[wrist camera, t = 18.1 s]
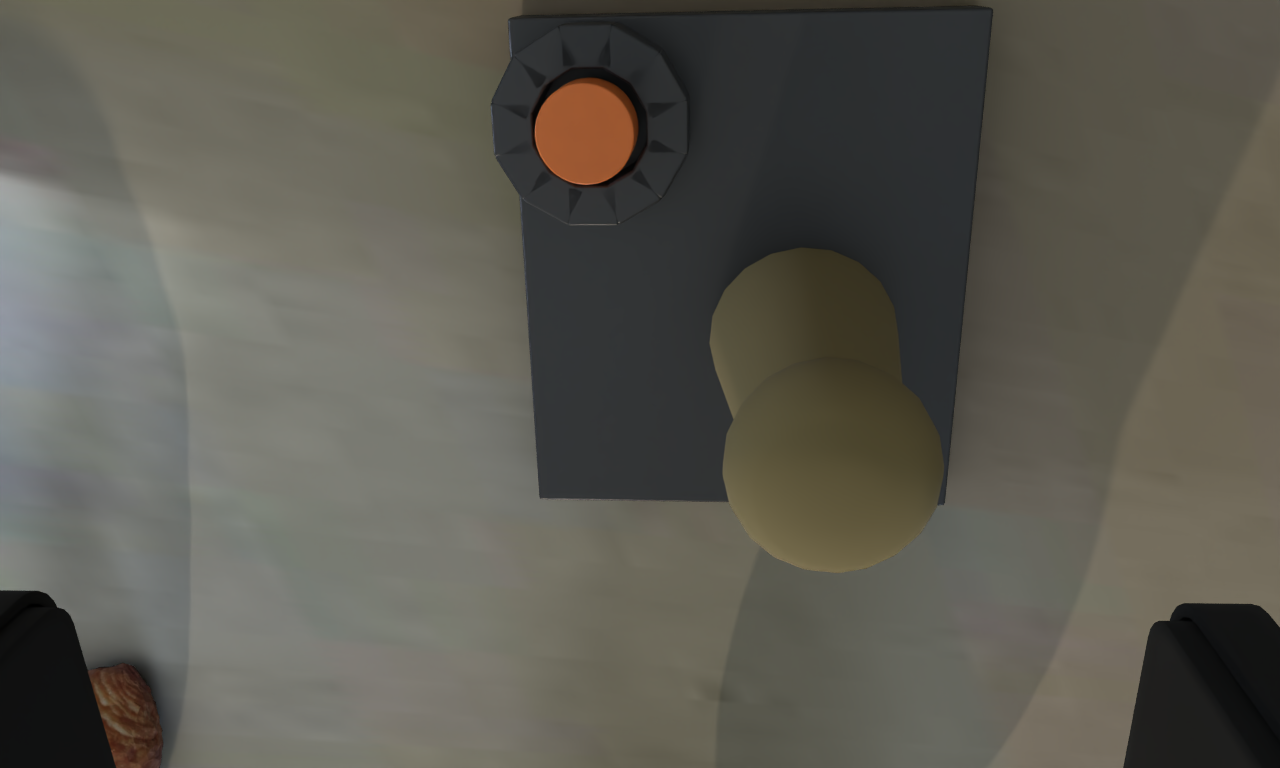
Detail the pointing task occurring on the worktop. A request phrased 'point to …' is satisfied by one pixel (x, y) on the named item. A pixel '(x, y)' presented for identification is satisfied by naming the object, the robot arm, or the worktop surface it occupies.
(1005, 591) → the worktop surface
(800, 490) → the cork
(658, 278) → the scale
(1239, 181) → the worktop surface
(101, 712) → the pastry
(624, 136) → the button
